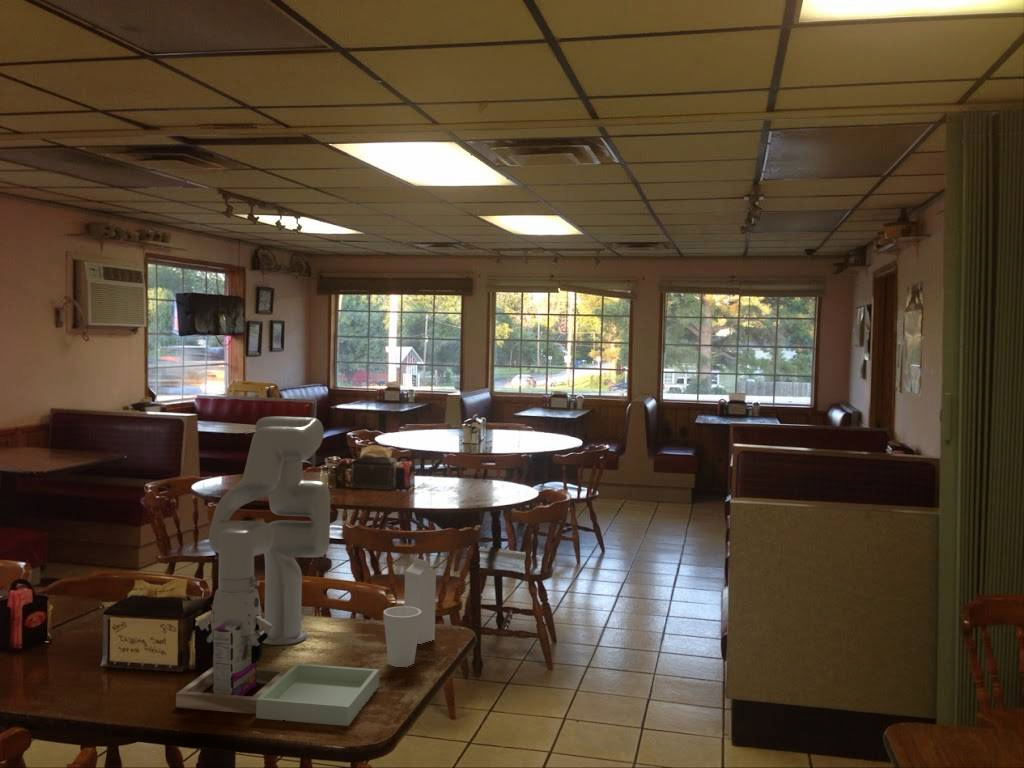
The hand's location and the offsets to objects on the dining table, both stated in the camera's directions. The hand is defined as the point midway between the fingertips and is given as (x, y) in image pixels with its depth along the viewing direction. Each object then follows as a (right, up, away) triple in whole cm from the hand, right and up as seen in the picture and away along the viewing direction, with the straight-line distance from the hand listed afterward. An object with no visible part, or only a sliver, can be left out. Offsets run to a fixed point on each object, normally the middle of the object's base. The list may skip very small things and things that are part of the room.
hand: (235, 660), depth 197 cm
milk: (+37, -8, +41) cm, 55 cm away
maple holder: (0, -8, 0) cm, 8 cm away
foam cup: (+34, -8, +23) cm, 42 cm away
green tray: (+20, -8, -3) cm, 21 cm away
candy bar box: (0, -8, 0) cm, 8 cm away
